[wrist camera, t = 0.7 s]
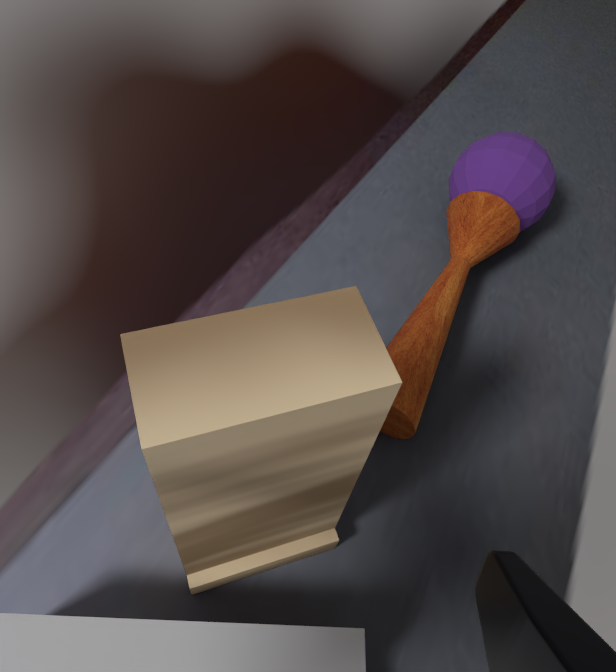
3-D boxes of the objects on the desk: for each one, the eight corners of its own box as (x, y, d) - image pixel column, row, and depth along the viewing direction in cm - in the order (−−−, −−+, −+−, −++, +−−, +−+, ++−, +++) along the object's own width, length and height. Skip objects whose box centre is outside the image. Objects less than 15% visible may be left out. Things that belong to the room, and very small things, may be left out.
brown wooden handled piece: (317, 358, 24) (475, 102, 34) (327, 422, 29) (463, 182, 39) (450, 411, 22) (579, 123, 32) (438, 470, 27) (553, 205, 37)
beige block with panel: (335, 548, 24) (411, 400, 13) (191, 595, 22) (145, 471, 12) (304, 460, 26) (349, 272, 15) (171, 498, 24) (117, 317, 14)
